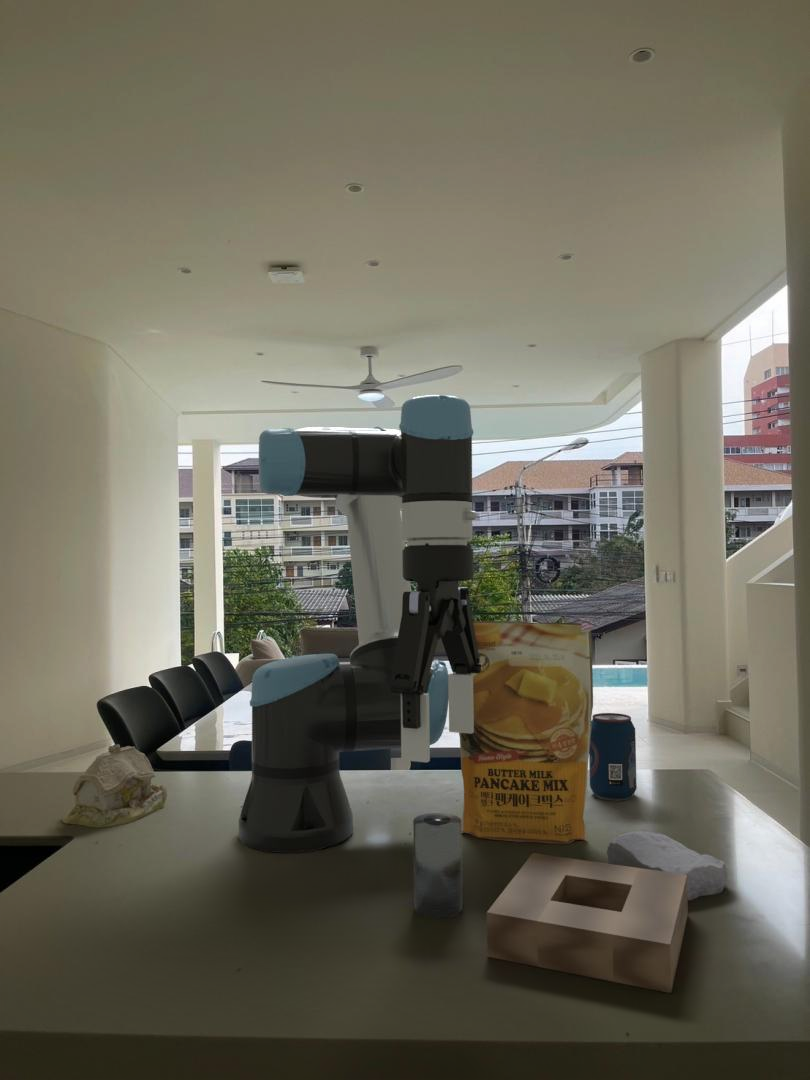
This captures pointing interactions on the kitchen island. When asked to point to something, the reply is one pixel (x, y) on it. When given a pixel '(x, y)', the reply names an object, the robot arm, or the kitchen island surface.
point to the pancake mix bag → (529, 733)
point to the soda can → (612, 757)
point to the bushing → (437, 865)
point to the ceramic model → (115, 790)
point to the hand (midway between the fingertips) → (440, 745)
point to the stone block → (669, 860)
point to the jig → (592, 920)
